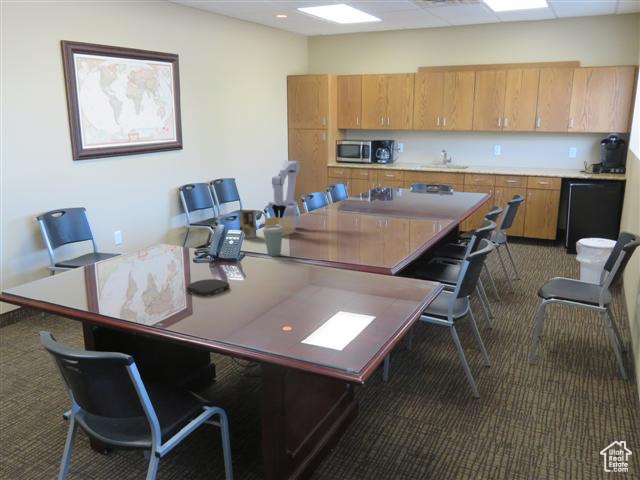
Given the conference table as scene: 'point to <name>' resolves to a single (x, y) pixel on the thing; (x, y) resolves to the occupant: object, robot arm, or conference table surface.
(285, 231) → the carton
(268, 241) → the disposable coffee cup
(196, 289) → the media streaming box
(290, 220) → the flap
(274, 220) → the flap
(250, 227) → the coffee box
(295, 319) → the conference table surface
